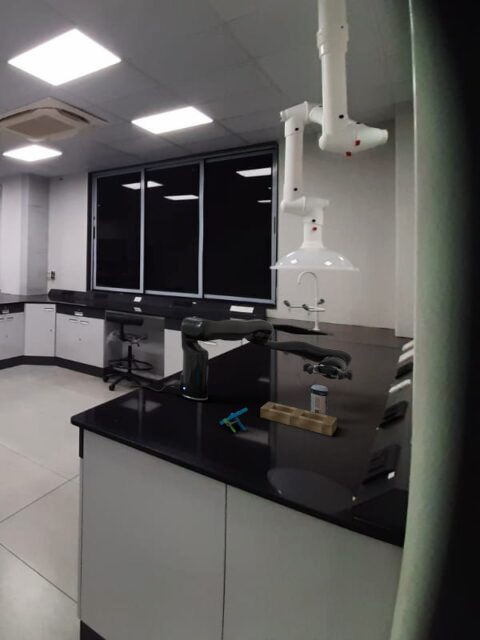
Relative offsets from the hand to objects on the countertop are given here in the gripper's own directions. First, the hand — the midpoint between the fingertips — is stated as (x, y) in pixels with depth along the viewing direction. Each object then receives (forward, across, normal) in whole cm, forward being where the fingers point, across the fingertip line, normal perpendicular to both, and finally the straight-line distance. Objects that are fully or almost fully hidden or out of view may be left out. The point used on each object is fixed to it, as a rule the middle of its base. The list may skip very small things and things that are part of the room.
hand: (324, 374), depth 153 cm
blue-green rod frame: (+45, -17, +15) cm, 50 cm away
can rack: (+20, -4, +15) cm, 25 cm away
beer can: (+9, 0, +15) cm, 18 cm away
